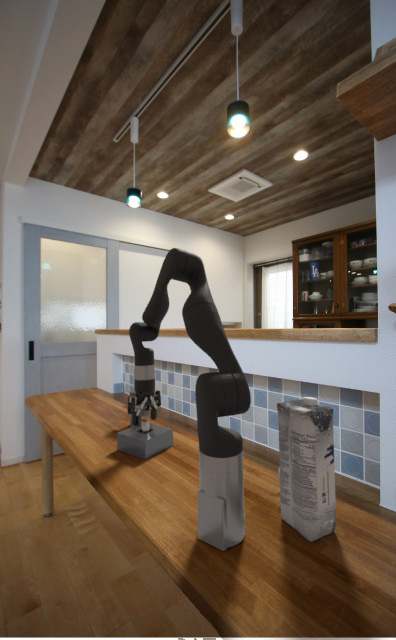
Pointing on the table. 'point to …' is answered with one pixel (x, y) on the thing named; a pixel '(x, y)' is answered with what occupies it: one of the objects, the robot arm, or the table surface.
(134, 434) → the bore block
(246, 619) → the table surface
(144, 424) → the cylinder
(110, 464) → the table surface
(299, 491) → the juice carton
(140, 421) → the coffeepot
